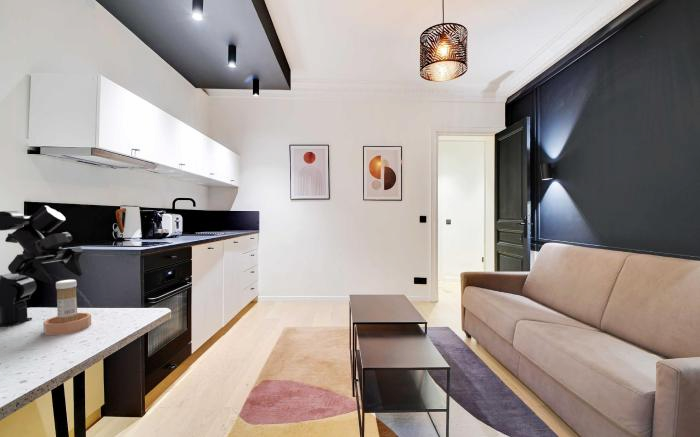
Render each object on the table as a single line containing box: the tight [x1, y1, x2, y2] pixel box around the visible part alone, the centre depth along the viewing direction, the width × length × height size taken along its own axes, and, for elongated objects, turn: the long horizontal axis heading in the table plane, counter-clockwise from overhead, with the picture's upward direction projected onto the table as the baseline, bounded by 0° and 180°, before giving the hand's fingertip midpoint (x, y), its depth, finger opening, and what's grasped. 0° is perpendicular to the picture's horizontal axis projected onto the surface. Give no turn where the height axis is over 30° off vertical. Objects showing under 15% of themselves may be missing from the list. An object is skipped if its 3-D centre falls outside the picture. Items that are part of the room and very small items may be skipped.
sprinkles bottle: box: [55, 279, 78, 324], centre depth 96 cm, size 5×5×13 cm
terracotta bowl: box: [43, 312, 92, 336], centre depth 96 cm, size 10×10×3 cm
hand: (66, 278), depth 101 cm, fingers open, 9 cm apart
